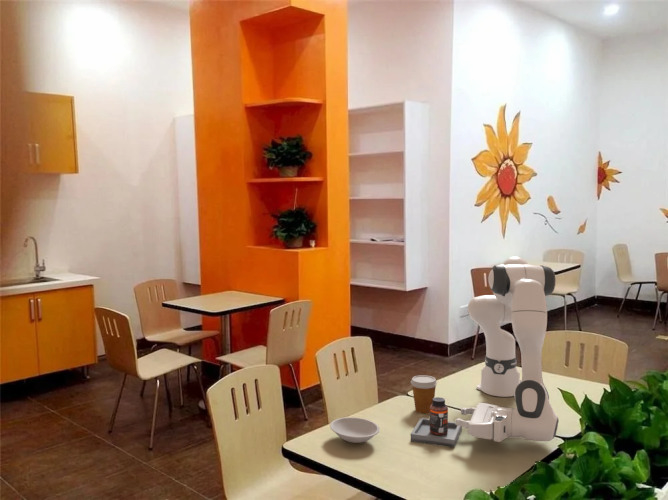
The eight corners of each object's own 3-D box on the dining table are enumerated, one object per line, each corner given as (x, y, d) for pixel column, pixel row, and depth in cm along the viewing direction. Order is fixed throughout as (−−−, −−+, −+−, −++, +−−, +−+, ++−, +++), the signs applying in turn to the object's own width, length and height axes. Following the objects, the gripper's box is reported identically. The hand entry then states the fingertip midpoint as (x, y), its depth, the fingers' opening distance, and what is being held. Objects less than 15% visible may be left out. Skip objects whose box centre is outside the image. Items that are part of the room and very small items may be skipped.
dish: (390, 442, 183) (389, 427, 183) (358, 457, 173) (358, 441, 173) (351, 427, 196) (351, 413, 195) (320, 440, 186) (320, 425, 186)
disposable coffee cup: (436, 416, 204) (436, 383, 202) (410, 414, 206) (409, 382, 204) (437, 406, 213) (437, 375, 212) (411, 405, 215) (411, 374, 214)
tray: (421, 424, 197) (420, 417, 196) (461, 430, 191) (461, 423, 191) (410, 441, 184) (410, 433, 183) (454, 447, 178) (454, 439, 178)
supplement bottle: (446, 437, 184) (446, 403, 183) (428, 434, 186) (427, 401, 185) (449, 429, 189) (449, 397, 188) (431, 427, 191) (431, 395, 190)
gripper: (506, 400, 188) (464, 396, 193) (498, 424, 169) (452, 418, 174) (506, 419, 188) (464, 413, 194) (498, 444, 170) (452, 437, 175)
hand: (458, 416), depth 184 cm, fingers open, 8 cm apart
